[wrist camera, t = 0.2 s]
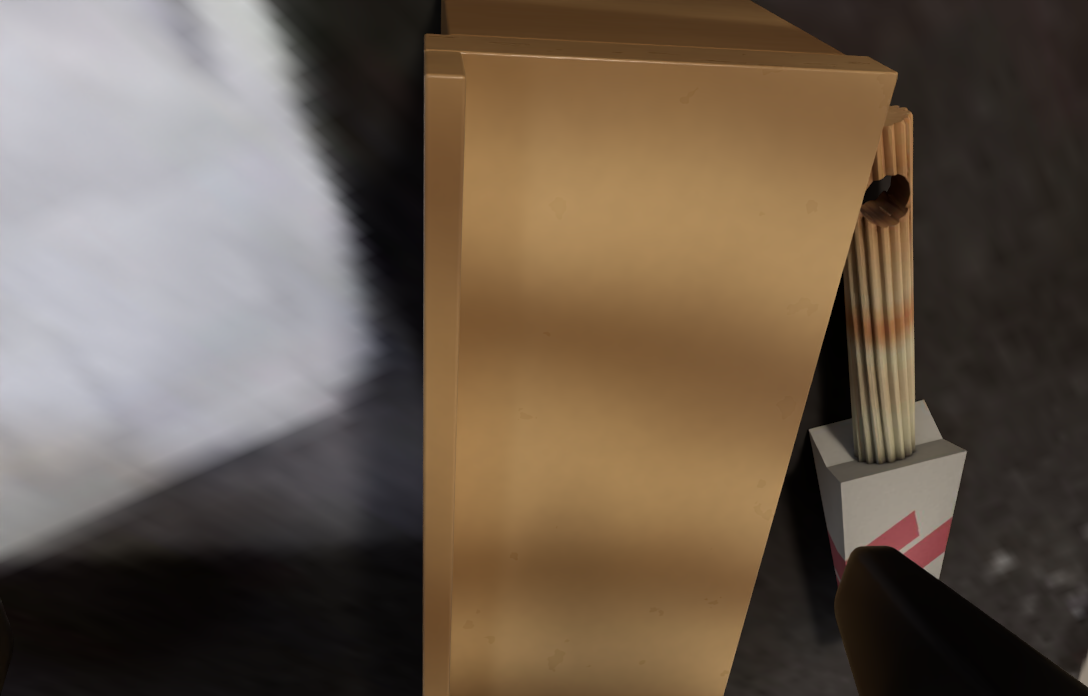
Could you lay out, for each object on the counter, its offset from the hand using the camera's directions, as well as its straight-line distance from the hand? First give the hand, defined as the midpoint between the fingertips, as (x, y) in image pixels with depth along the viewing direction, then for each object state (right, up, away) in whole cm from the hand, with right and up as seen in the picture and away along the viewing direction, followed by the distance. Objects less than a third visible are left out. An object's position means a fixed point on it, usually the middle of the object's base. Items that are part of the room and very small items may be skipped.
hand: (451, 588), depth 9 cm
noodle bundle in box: (+11, +1, +19) cm, 22 cm away
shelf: (+1, +1, +17) cm, 17 cm away
